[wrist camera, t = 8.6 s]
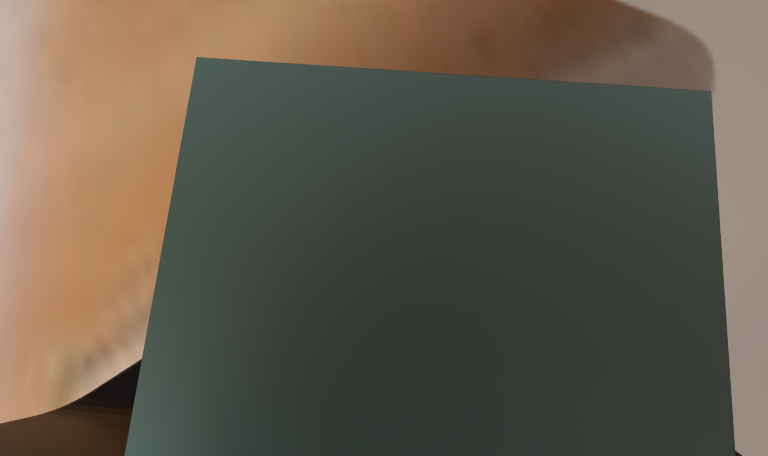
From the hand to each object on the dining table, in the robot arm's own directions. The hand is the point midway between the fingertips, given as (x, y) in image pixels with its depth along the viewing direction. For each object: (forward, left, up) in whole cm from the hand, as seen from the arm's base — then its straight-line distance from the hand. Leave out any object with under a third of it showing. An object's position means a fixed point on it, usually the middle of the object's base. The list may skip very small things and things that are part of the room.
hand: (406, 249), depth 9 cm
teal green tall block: (-1, 0, -7) cm, 7 cm away
